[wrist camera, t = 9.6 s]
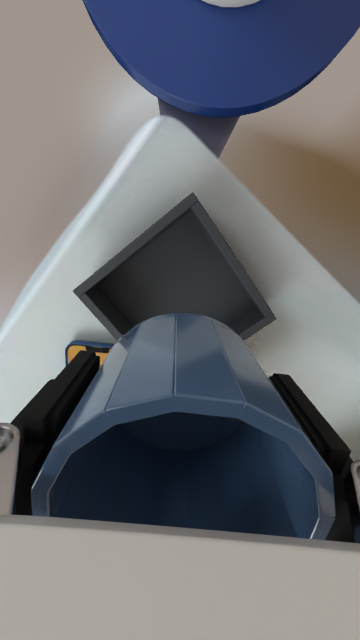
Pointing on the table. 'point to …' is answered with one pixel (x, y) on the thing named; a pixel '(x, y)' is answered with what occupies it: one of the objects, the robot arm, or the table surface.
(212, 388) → the blue cup
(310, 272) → the table surface
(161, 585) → the robot arm
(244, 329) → the tub
